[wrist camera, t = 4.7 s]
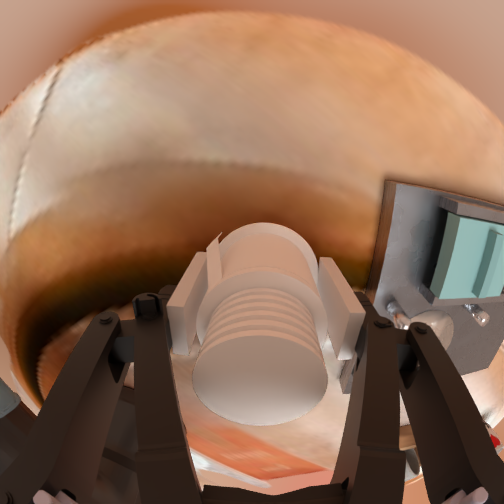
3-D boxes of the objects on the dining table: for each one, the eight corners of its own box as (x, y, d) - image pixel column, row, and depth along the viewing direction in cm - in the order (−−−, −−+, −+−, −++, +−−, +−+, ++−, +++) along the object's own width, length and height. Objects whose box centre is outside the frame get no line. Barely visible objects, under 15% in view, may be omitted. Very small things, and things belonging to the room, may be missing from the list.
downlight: (342, 280, 18) (399, 386, 8) (266, 340, 20) (263, 458, 10) (260, 192, 16) (250, 233, 7) (184, 266, 18) (114, 363, 9)
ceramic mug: (357, 458, 33) (364, 494, 26) (399, 436, 30) (411, 473, 23) (382, 465, 35) (390, 495, 28) (419, 445, 33) (429, 476, 26)
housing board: (339, 380, 25) (348, 416, 21) (385, 179, 18) (418, 190, 13) (481, 359, 25) (497, 381, 20) (533, 215, 17) (561, 228, 13)
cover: (429, 289, 17) (445, 306, 15) (448, 212, 15) (469, 221, 13) (490, 288, 17) (505, 301, 15) (508, 224, 15) (526, 233, 13)
